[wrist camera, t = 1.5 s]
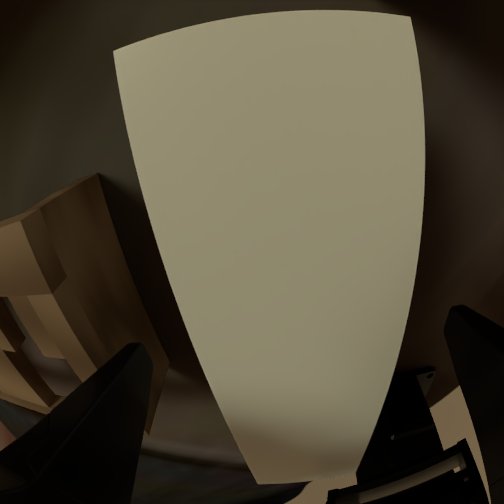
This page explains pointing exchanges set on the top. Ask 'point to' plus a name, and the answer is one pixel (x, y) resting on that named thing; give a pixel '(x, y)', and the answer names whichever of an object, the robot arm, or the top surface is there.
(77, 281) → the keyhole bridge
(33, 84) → the top surface
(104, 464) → the robot arm
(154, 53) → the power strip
